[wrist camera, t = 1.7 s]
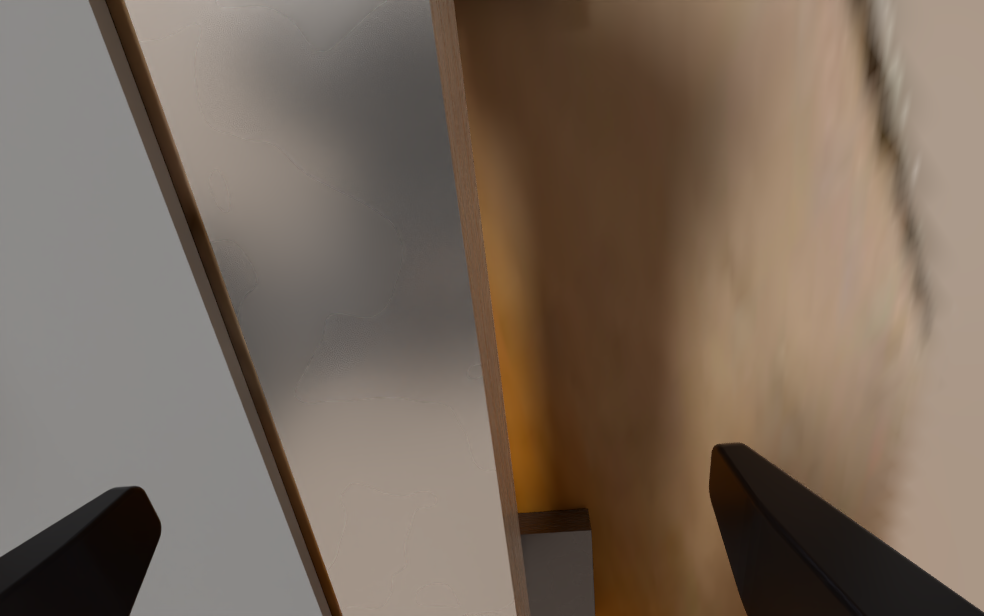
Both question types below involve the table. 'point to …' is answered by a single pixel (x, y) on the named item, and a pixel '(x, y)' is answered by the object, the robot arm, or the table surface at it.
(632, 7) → the table surface
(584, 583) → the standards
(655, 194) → the table surface
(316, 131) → the rail
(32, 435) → the mat
